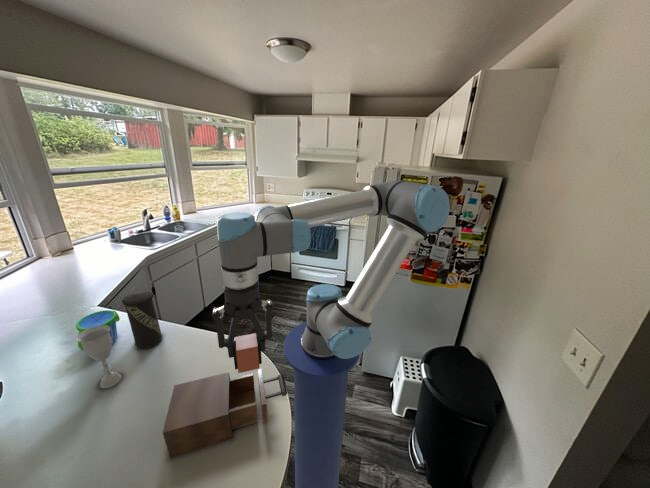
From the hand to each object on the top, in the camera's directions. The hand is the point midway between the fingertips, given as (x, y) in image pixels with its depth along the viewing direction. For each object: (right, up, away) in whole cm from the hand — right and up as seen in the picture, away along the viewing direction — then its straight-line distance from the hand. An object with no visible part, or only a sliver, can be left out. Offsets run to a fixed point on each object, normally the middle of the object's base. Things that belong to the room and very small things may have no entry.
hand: (248, 362), depth 64 cm
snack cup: (-61, -6, +27) cm, 67 cm away
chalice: (-46, -12, +12) cm, 49 cm away
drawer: (0, -15, +5) cm, 16 cm away
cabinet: (-12, -17, +2) cm, 20 cm away
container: (-45, -6, +28) cm, 54 cm away
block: (0, 0, 0) cm, 0 cm away
